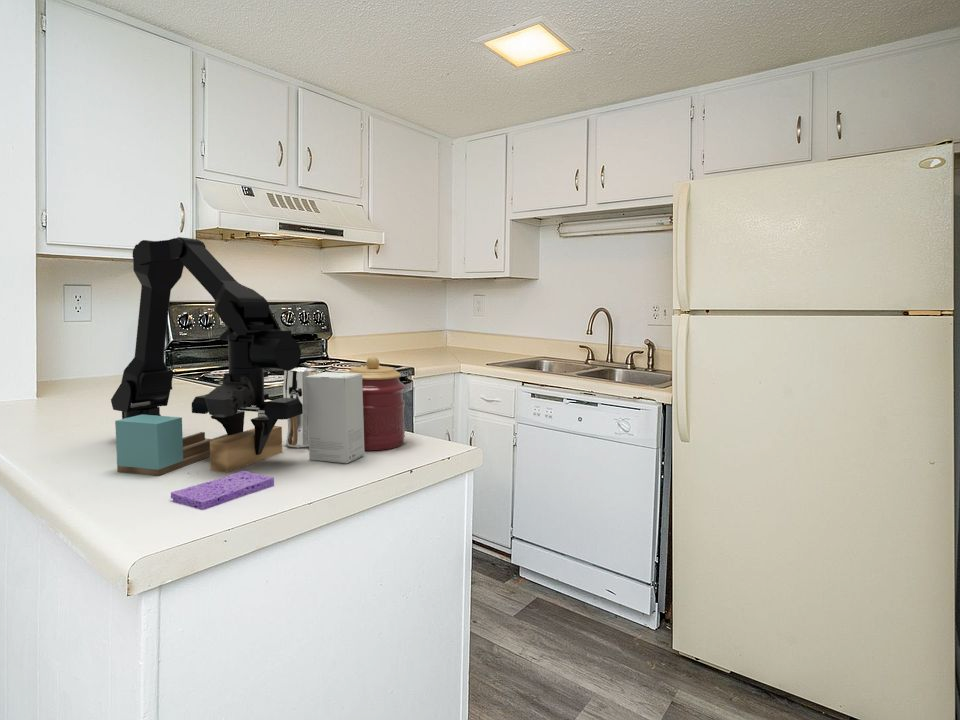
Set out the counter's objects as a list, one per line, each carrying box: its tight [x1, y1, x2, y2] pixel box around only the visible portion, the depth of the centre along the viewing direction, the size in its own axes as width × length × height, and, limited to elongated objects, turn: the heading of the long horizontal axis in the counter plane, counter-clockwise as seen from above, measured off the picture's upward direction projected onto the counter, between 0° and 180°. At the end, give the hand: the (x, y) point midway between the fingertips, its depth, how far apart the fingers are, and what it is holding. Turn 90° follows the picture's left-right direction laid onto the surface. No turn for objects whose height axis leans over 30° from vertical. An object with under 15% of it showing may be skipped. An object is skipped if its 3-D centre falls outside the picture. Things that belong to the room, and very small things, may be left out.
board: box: [117, 431, 228, 477], centre depth 103 cm, size 8×20×2 cm, turn 167°
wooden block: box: [209, 425, 283, 473], centre depth 103 cm, size 4×14×5 cm, turn 161°
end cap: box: [114, 414, 184, 470], centre depth 96 cm, size 8×6×8 cm
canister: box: [345, 356, 406, 451], centre depth 116 cm, size 13×13×18 cm
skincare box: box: [306, 371, 366, 464], centre depth 105 cm, size 8×7×16 cm
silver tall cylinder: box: [282, 367, 320, 448], centre depth 114 cm, size 7×7×15 cm
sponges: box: [170, 470, 275, 511], centre depth 86 cm, size 7×13×2 cm, turn 152°
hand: (248, 453), depth 103 cm, fingers closed on wooden block, 4 cm apart
